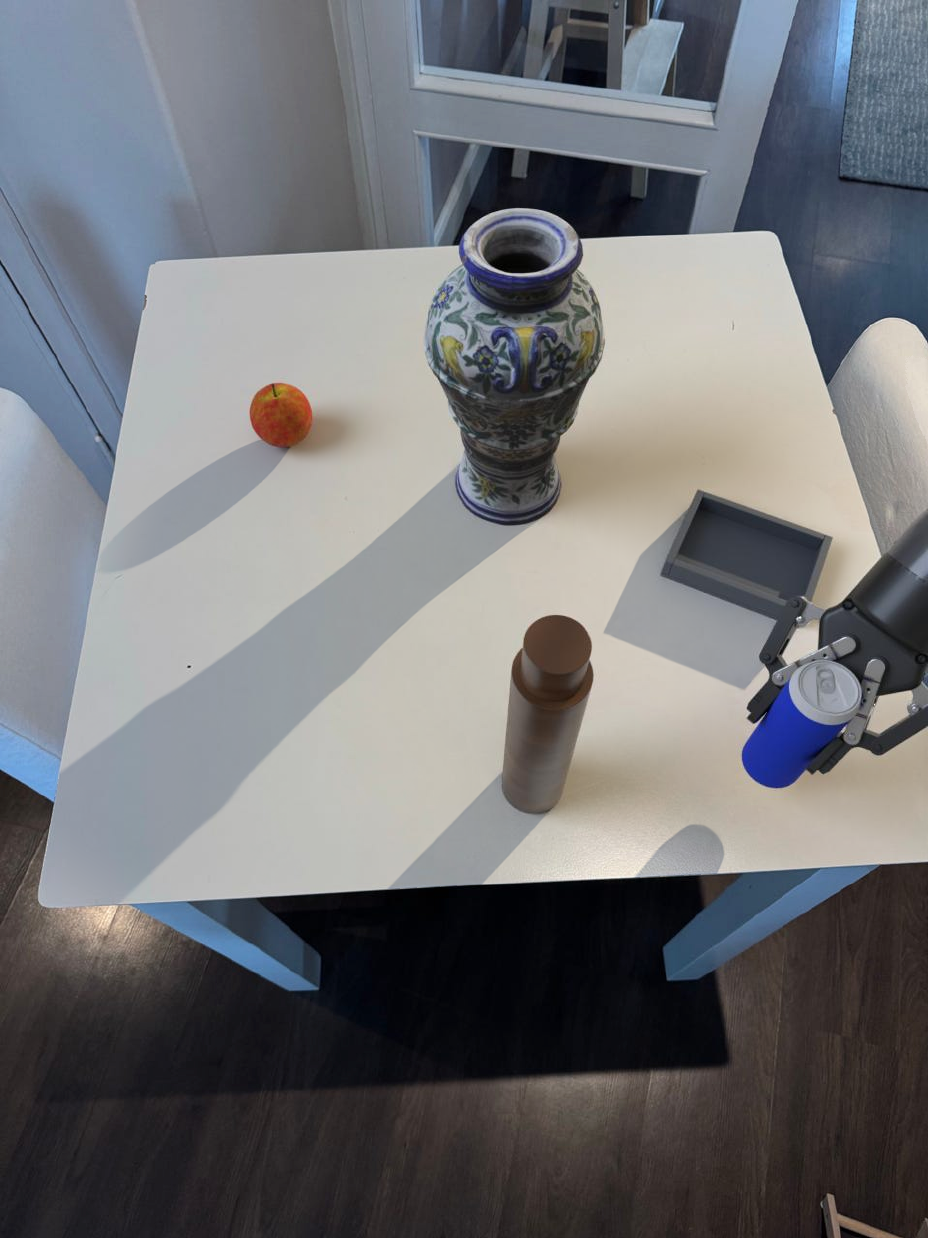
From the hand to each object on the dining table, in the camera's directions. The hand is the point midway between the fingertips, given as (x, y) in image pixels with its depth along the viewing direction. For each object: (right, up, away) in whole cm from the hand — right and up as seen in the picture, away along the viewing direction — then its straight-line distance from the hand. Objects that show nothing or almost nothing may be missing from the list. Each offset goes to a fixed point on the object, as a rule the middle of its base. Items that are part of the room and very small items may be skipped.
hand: (781, 744), depth 67 cm
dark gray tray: (+4, +16, +21) cm, 27 cm away
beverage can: (+2, -3, +7) cm, 8 cm away
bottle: (-19, -5, +9) cm, 22 cm away
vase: (-21, +25, +27) cm, 42 cm away
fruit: (-46, +31, +31) cm, 64 cm away
